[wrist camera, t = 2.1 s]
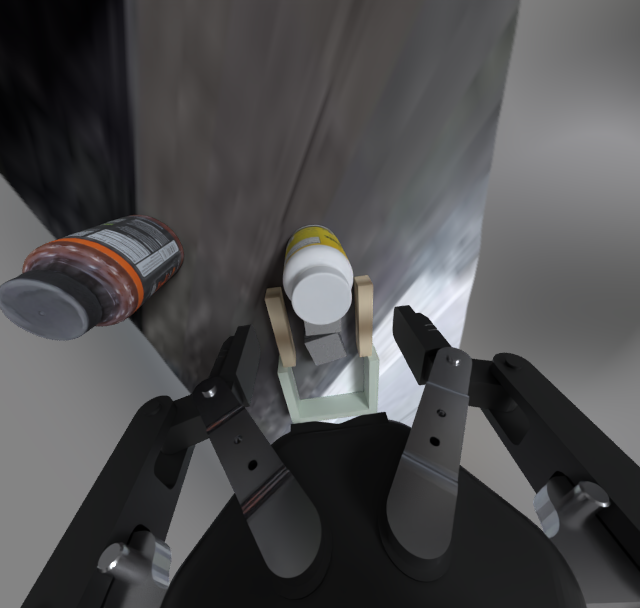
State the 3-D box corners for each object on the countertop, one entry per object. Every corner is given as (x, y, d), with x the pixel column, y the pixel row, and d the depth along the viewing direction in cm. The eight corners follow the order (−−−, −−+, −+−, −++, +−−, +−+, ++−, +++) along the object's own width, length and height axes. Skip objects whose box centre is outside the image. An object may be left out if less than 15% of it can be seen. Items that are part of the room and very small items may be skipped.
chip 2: (304, 329, 29) (304, 343, 27) (334, 319, 29) (337, 332, 26) (315, 351, 31) (316, 365, 29) (343, 342, 31) (347, 356, 29)
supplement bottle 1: (160, 285, 24) (71, 369, 15) (102, 239, 21) (-56, 306, 12) (200, 252, 23) (128, 321, 13) (142, 198, 20) (-3, 236, 10)
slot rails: (267, 288, 25) (264, 298, 23) (367, 275, 25) (373, 284, 23) (284, 354, 31) (283, 367, 29) (367, 343, 31) (371, 355, 29)
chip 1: (301, 294, 26) (301, 306, 24) (336, 290, 26) (340, 302, 24) (305, 322, 28) (306, 335, 26) (338, 319, 29) (341, 331, 26)
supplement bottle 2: (347, 263, 24) (372, 318, 16) (300, 282, 25) (300, 343, 17) (328, 213, 22) (347, 248, 13) (276, 236, 22) (263, 283, 14)
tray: (279, 355, 31) (277, 373, 28) (372, 342, 31) (379, 359, 28) (293, 405, 37) (293, 424, 34) (371, 395, 37) (377, 412, 34)
